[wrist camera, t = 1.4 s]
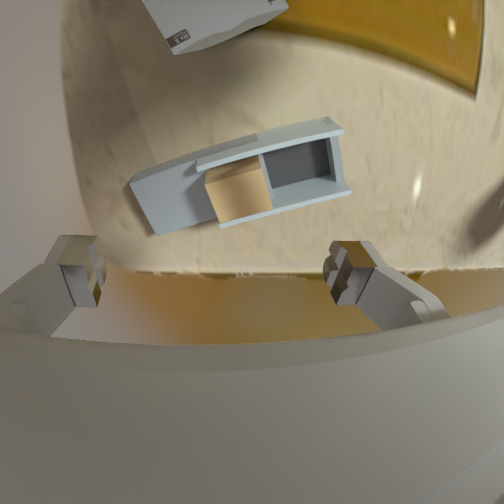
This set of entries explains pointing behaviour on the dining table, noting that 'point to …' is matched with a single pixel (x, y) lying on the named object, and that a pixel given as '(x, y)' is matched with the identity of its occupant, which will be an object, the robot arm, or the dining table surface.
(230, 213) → the oak block
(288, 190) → the trap trough
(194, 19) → the skincare box
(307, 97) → the dining table surface
